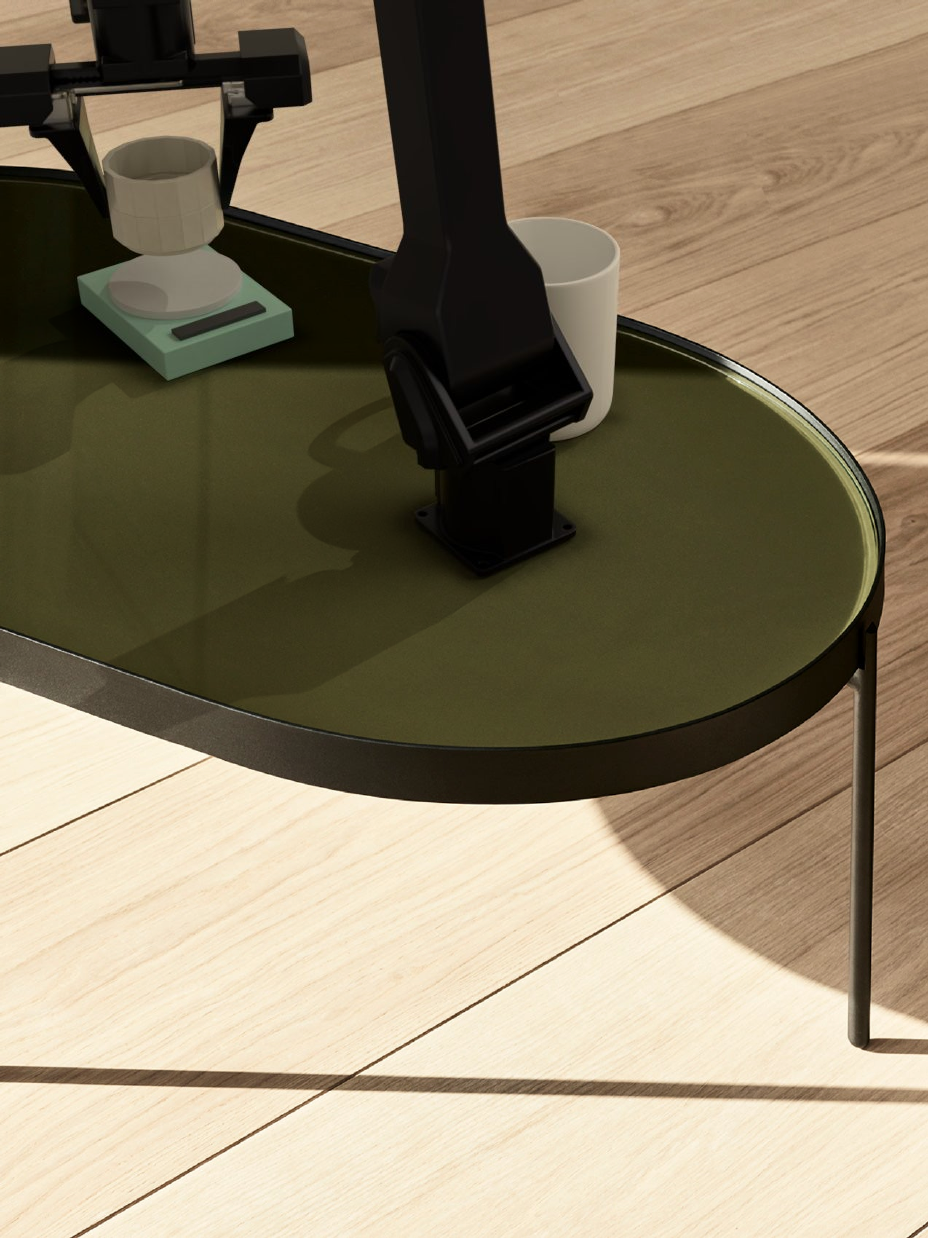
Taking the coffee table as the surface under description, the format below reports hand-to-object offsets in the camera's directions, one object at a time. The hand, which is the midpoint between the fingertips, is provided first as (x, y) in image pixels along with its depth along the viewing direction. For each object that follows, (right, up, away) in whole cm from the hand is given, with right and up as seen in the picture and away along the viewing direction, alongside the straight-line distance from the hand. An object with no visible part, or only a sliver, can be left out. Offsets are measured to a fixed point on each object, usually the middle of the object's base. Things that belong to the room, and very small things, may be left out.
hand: (166, 211), depth 104 cm
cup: (+21, -12, -3) cm, 25 cm away
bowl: (0, -1, +1) cm, 2 cm away
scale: (0, -6, +4) cm, 7 cm away
